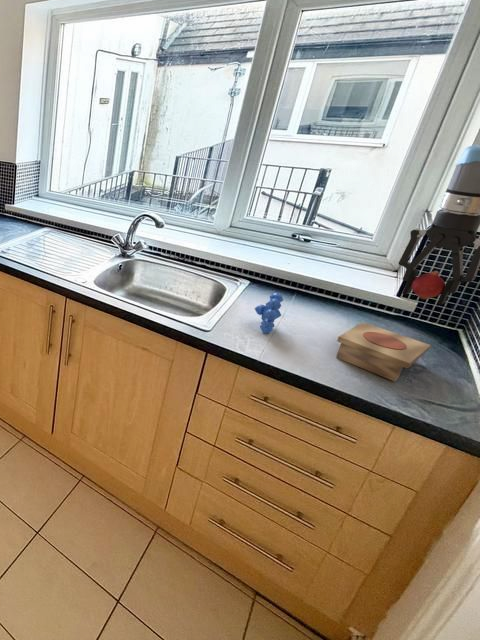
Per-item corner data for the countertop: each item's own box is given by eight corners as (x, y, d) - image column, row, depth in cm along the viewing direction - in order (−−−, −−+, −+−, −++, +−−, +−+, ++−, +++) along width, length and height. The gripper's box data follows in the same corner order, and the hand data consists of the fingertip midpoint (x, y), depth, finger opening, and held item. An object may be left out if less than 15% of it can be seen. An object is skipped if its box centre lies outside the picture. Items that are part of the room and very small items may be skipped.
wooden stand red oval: (421, 364, 110) (431, 344, 108) (400, 384, 102) (410, 362, 100) (355, 340, 121) (362, 321, 119) (331, 355, 114) (338, 335, 112)
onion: (405, 298, 110) (418, 270, 107) (407, 291, 113) (420, 264, 110) (437, 306, 106) (451, 277, 103) (438, 299, 109) (452, 271, 106)
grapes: (252, 317, 133) (262, 283, 128) (277, 324, 129) (289, 290, 124) (245, 332, 125) (257, 297, 120) (273, 341, 121) (285, 304, 116)
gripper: (402, 205, 107) (370, 287, 115) (517, 223, 92) (471, 316, 100) (413, 202, 111) (381, 282, 119) (526, 219, 95) (481, 309, 103)
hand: (422, 297), depth 109 cm, fingers closed on onion, 6 cm apart
